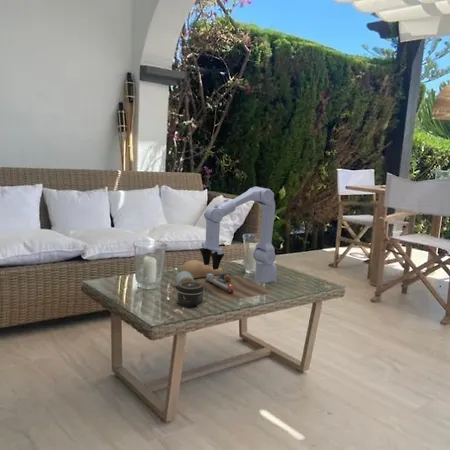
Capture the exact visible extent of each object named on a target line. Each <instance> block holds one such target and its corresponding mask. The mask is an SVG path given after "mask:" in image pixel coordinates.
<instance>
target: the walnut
mask: <svg viewBox="0 0 450 450" xmlns="http://www.w3.org/2000/svg"><path fill="white" fill-rule="evenodd" d="M231 276H232V275H231ZM231 276H230V275H229V274H226V275H224V280H225V281H229V280H230V279H231Z"/></svg>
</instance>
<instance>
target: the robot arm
mask: <svg viewBox="0 0 450 450" xmlns="http://www.w3.org/2000/svg"><path fill="white" fill-rule="evenodd" d="M274 197H275V193H274V192H273V190H271V189H270V188H265V187H260V186H253V187H250V188H249V189H247V191H245V192H243V193H241V194H240V195H238V196H236V197H235V198H233V199H230V198H225V199H223V201H222V202H220V203H218V204H214V206H209V207H208V208H206V210H205V211H204V213H203V217H204V220H205V223H206V225H205V240H204V241H203V242H201V248H199V251H200V254H201V257H202V261H203V263H204V265H209V266H210V261H211V260H212V267H213V269H214V270H216V269H218V268H219V266H220V264H221V261H222V259H223V258H224V256H225V253H224V249H223V248H221V247H220V246H219V245H220V229H221V222H222V220H223V218H224V217H226V216H228V215H229V214H232V213H233V212H235V211H236V208H237V207H239V206H241V205H243V204H246V203H248V202H251V201H254V202H256V203H258V205H259V206H260V207H261V209H262V213H261V221H260V229H259V230H260V232H259V241H258V242H257V244H255V248H254V250H253V254H252V256H253V260H255V261H254V262H255V269H254V270H255V271H254V272H255V274H254V280H255V282H257V283H263V284H267V283H271V282H274V283H277V284H278V282H277V272H278V269H277V265H276V263H275V261H276V258H277V257H276V253H275V247H274V246H273V244H272V242H273V241H272V240H273V232H274V231H273V230H274V221H275V212H276V201H275V198H274Z"/></svg>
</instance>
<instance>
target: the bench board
mask: <svg viewBox="0 0 450 450" xmlns="http://www.w3.org/2000/svg"><path fill="white" fill-rule="evenodd" d="M226 274H229V275H230V276H231V279H230V280H229V281H226V285H228V284H234V292H233V293H228V292H227V290H225V289H223V288H221V287H219V286H217V285H216V284H214V283H212V282H208V281H206V279H200V280H194V281H195V282H198V283H201V284H202V285H203V288H205V289H206V290H208V291H210V292H211V293H213V294H215V295H217V296H219V297H220V298H222V299H224V300H226V301H231V300H232V301H233V300H237V299H238V300H239V299H244V298H250V297H257V296H258V297H259V296H262V295H264V296H265V295H269V294H270V295H271V294H275V292H274V291H272V290H270V289H268V288H266V287H263V286H262V285H260V284H257V283H256V282H253V281H252V280H249V279H247V278H245V277H243V276H241V275H232V273H231V272H229V271H227V272H224V271H223V272H222V273H219V275H218V277H215V278H214V279H216V280H217V279H220V278H221V279H223V280H224V275H226Z"/></svg>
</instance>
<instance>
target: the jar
mask: <svg viewBox="0 0 450 450" xmlns="http://www.w3.org/2000/svg"><path fill="white" fill-rule="evenodd" d="M203 296H204V287H203V285H202V284H201V283H198V282H182V283H180V284H179V285H178V286H177V302H178V304H179V305H180V306H182V307H184V308H196V307H198V305H200V304H202V303H203Z"/></svg>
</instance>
